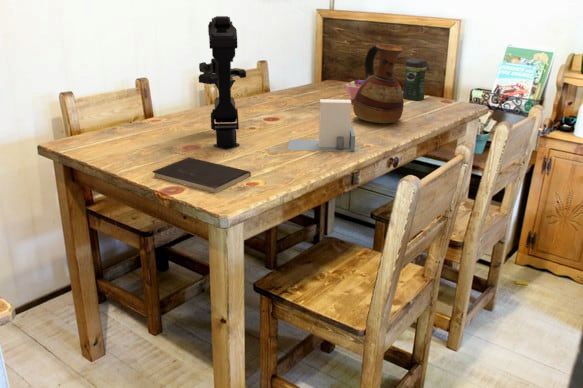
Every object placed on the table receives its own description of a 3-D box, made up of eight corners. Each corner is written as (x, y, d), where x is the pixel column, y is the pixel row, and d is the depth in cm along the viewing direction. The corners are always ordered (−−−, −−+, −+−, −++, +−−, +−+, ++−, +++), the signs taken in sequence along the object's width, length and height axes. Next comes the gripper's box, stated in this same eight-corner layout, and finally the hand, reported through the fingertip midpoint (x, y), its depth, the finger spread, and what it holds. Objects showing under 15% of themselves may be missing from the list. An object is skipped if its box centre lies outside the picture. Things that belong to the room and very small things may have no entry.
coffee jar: (426, 99, 259) (430, 58, 252) (417, 101, 253) (421, 60, 247) (409, 95, 265) (412, 56, 258) (399, 98, 260) (403, 58, 253)
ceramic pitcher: (379, 130, 207) (385, 48, 195) (341, 119, 221) (345, 42, 210) (412, 122, 218) (419, 44, 207) (375, 112, 233) (379, 39, 221)
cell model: (338, 99, 257) (340, 74, 253) (377, 96, 262) (379, 73, 258) (353, 107, 242) (354, 81, 238) (394, 104, 247) (396, 79, 243)
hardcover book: (215, 195, 146) (215, 187, 145) (153, 178, 157) (152, 171, 156) (250, 178, 159) (250, 170, 158) (190, 163, 170) (190, 156, 169)
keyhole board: (287, 152, 179) (287, 134, 177) (289, 142, 191) (289, 125, 188) (355, 154, 179) (356, 136, 177) (352, 143, 190) (353, 126, 188)
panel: (318, 146, 182) (320, 102, 177) (318, 143, 186) (320, 99, 181) (349, 147, 182) (351, 102, 176) (348, 143, 186) (350, 99, 181)
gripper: (223, 50, 202) (225, 93, 208) (186, 56, 188) (188, 101, 194) (246, 53, 196) (247, 97, 202) (209, 59, 182) (211, 105, 188)
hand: (223, 100), depth 197 cm, fingers closed
